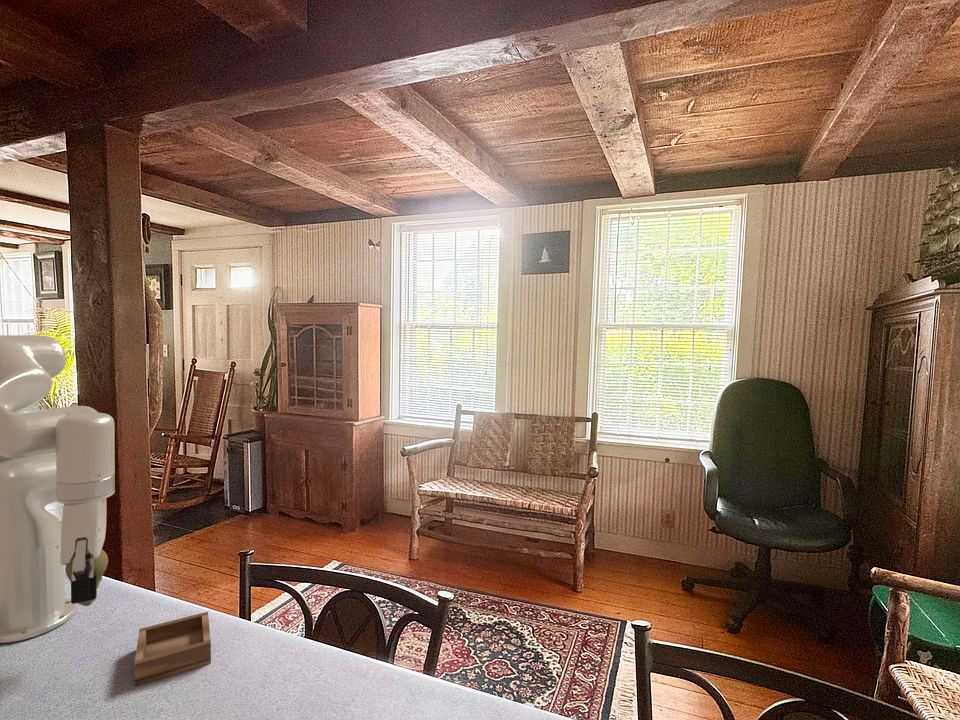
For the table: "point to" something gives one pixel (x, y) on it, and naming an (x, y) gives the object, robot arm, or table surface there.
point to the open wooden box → (172, 648)
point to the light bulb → (99, 569)
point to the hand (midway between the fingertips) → (87, 590)
